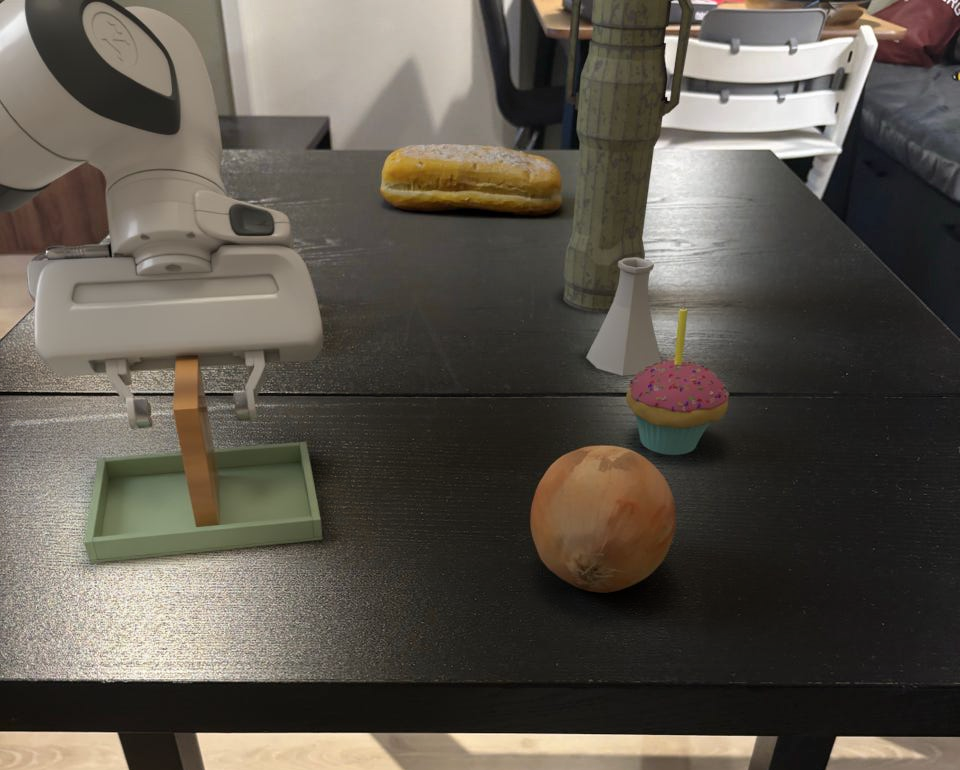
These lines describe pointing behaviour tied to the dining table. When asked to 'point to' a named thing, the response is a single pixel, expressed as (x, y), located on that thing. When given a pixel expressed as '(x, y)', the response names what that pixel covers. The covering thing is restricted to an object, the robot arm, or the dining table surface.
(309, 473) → the tray
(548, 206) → the bread
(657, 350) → the flask
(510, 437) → the dining table surface
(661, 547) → the onion
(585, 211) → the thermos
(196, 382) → the toast
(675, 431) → the cupcake
